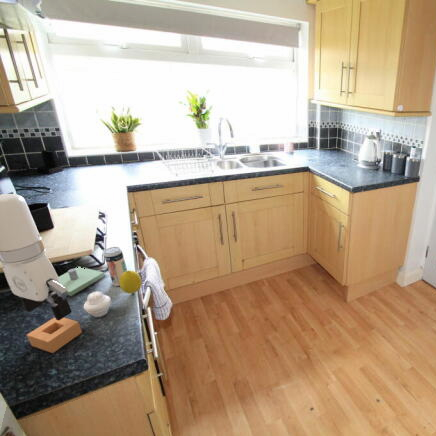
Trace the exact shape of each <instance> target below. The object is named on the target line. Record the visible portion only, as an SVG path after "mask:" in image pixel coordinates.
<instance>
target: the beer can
mask: <svg viewBox="0 0 436 436" xmlns="http://www.w3.org/2000/svg"><path fill="white" fill-rule="evenodd" d="M103 257H104V260H105V264H106V266H107V271H108V273H109V276H110V281H111V283H112V284H111V285H113V286H115V287H120V277H121V275H122V274H123V273H124V272H126V271H128V269H127V264H126V261H125V257H124V253H123V250H122V249H121V248H120V247H119V246H111V247H108V248H106V249H105V250H104V252H103Z"/></svg>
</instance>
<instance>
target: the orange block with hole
mask: <svg viewBox="0 0 436 436" xmlns="http://www.w3.org/2000/svg"><path fill="white" fill-rule="evenodd" d="M82 333H83V330H82V328H81V325H80V322H79V321H76V320H73V319H70V318H68V317H67V318H66V317H64V318H62V319H61V320H56V318H55V317H53V318H51V319H50V320H48V321H47V322H45V323H43V324H42V325H40V326H39V327H37V328H35V329H33V330H32V331H30V332H29V333H26V337H27V339H28V341H29V343H30V344H29V345H30V346H31V347H34V348H37V349H40V350H42V351H46V352H48V353H51V354H54V353H55V352H57V351H58V350H60V349H61V348H62V347H64V346H65V345H66V344H68V343H69V342H70V341H72V340H73V339H76V337H78V336H79V335H81V334H82Z"/></svg>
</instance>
